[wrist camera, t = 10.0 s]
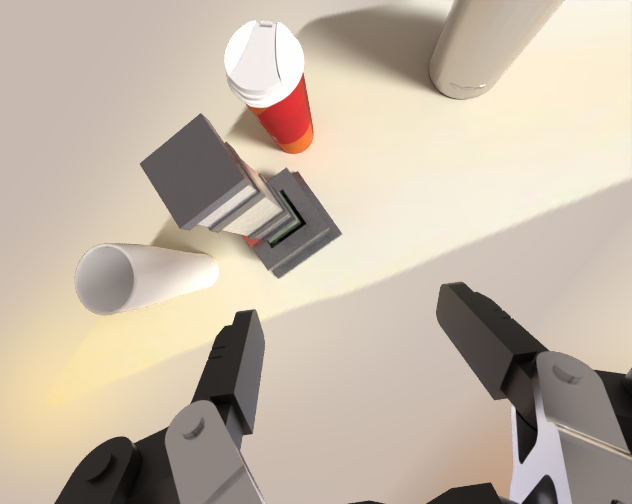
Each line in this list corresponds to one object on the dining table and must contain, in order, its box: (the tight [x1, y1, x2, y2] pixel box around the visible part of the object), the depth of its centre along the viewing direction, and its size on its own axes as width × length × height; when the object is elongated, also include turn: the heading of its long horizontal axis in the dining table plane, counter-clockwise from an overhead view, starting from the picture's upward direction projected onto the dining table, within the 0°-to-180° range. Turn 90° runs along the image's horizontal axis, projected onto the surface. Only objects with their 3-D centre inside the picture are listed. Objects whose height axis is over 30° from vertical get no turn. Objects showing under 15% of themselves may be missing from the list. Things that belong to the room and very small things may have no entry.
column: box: [140, 114, 301, 244], centre depth 21 cm, size 5×5×16 cm
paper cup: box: [224, 20, 313, 154], centre depth 28 cm, size 8×8×14 cm
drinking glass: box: [75, 243, 219, 316], centre depth 29 cm, size 7×7×15 cm
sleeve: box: [243, 167, 342, 279], centre depth 31 cm, size 11×11×7 cm
